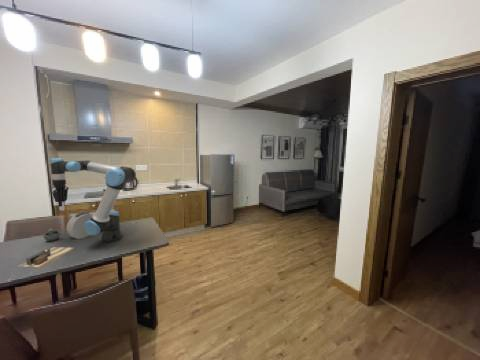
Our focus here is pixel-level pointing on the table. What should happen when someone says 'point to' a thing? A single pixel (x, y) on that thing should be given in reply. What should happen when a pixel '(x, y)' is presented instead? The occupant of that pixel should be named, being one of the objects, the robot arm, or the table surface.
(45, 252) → the latch bar
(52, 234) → the mortar and pestle
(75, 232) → the alarm clock
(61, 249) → the board
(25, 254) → the table surface
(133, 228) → the table surface
